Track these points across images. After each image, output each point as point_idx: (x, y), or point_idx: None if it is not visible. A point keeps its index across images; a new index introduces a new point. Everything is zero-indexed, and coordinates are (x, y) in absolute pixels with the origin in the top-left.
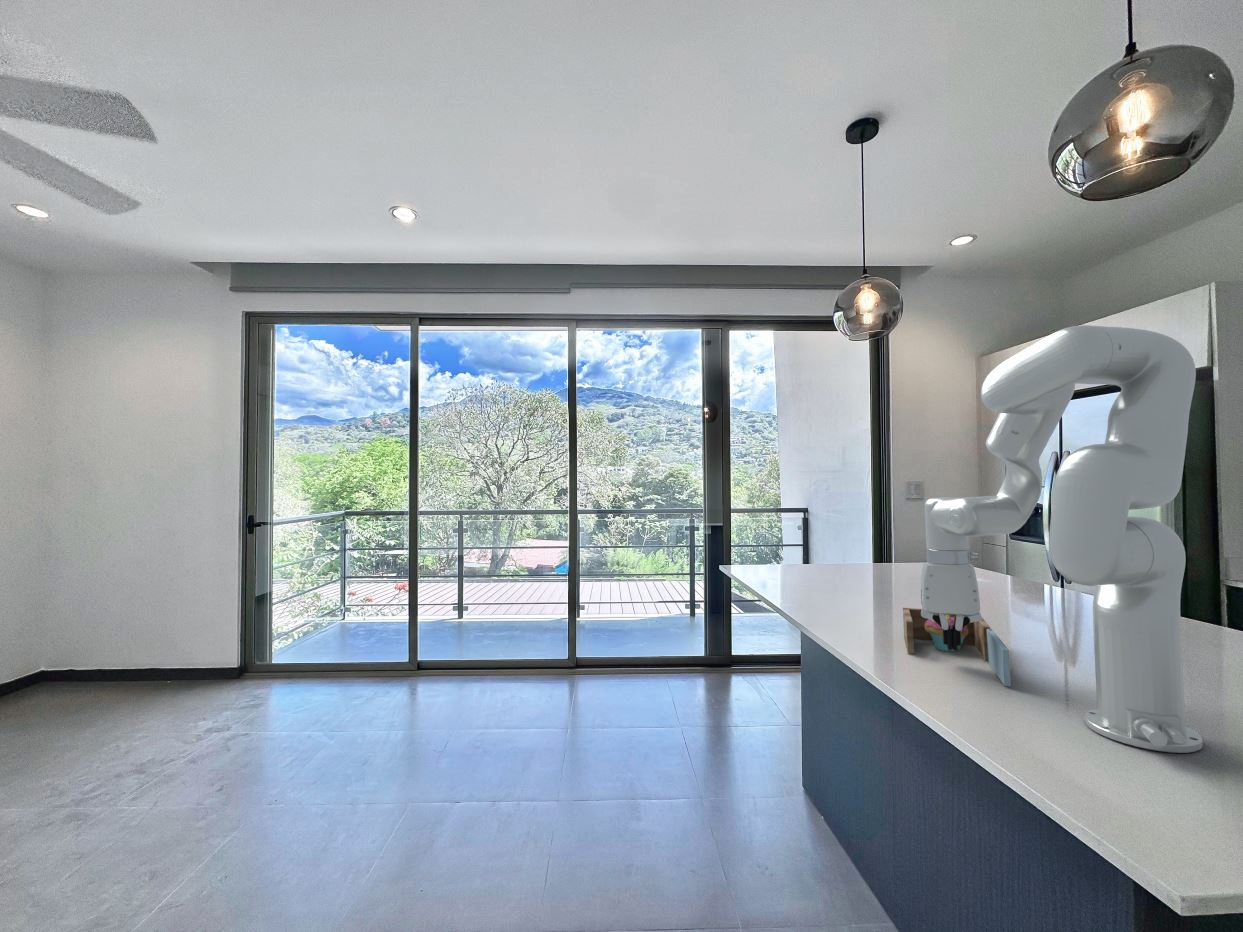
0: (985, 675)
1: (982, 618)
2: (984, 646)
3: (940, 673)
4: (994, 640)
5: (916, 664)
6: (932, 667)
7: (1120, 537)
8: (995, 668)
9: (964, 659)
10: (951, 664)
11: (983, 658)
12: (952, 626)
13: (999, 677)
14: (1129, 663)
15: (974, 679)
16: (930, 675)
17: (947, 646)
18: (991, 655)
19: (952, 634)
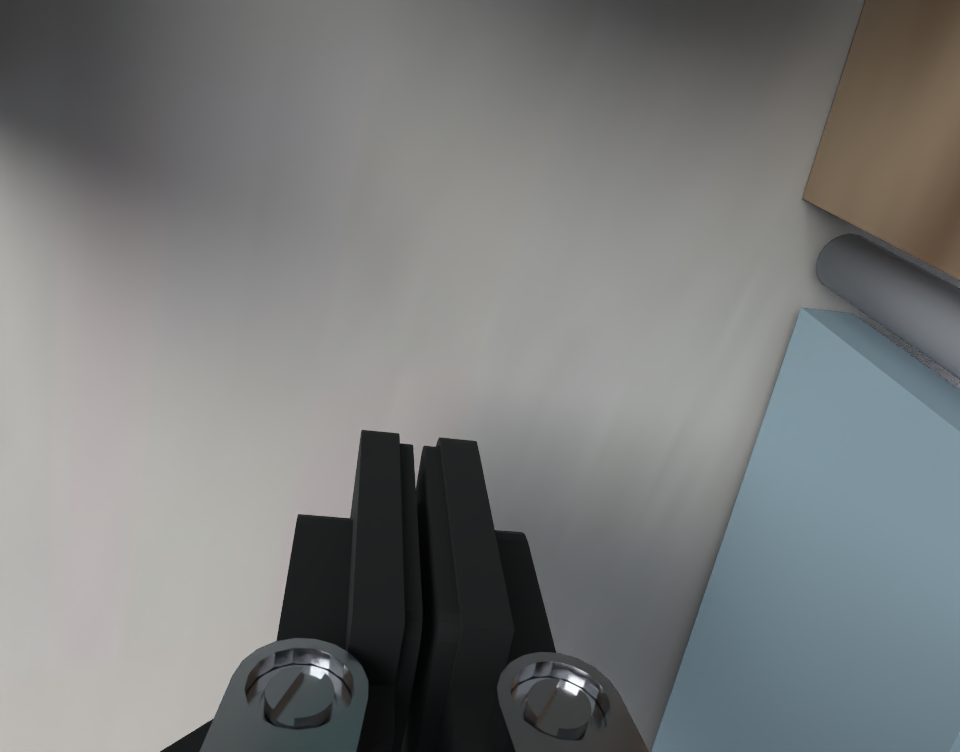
0: (600, 623)
1: None
2: (905, 246)
3: (229, 667)
4: None
5: (15, 477)
6: (176, 530)
7: None
8: (713, 632)
9: (598, 165)
10: (391, 392)
11: (835, 104)
12: (448, 745)
13: (663, 729)
14: None
15: None
16: (135, 730)
17: (352, 505)
18: (803, 529)
19: (404, 745)
